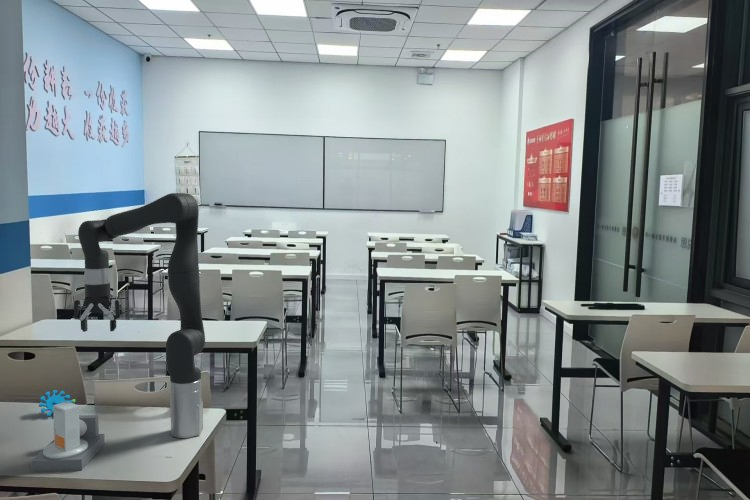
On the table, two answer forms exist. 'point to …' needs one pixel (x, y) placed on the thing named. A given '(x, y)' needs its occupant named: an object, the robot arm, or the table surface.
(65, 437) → the skincare box
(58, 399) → the gear
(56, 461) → the dial scale
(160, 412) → the table surface
